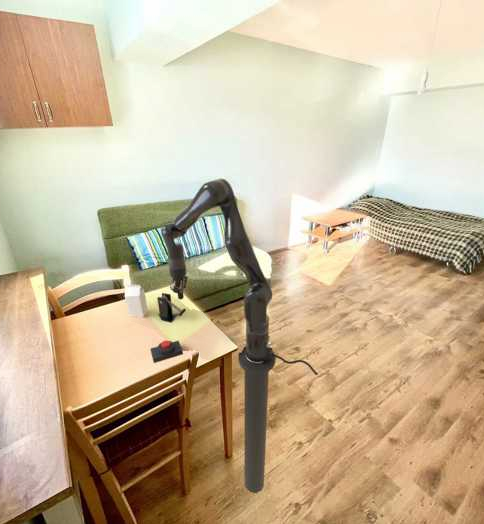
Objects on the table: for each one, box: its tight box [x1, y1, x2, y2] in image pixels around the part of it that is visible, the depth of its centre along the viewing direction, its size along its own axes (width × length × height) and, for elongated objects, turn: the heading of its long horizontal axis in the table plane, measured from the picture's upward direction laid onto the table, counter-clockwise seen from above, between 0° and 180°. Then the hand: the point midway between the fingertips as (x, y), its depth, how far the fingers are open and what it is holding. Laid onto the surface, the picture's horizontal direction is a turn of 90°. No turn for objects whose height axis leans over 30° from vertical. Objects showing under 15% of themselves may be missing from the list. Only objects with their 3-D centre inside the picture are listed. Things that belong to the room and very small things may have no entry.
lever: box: [161, 295, 187, 317], centre depth 136 cm, size 13×5×2 cm
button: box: [160, 340, 171, 349], centre depth 115 cm, size 4×4×2 cm
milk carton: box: [124, 284, 149, 318], centre depth 138 cm, size 7×7×19 cm
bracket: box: [156, 292, 179, 323], centre depth 138 cm, size 10×8×13 cm
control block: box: [149, 340, 184, 364], centre depth 116 cm, size 12×7×4 cm, turn 115°
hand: (181, 298), depth 133 cm, fingers closed
